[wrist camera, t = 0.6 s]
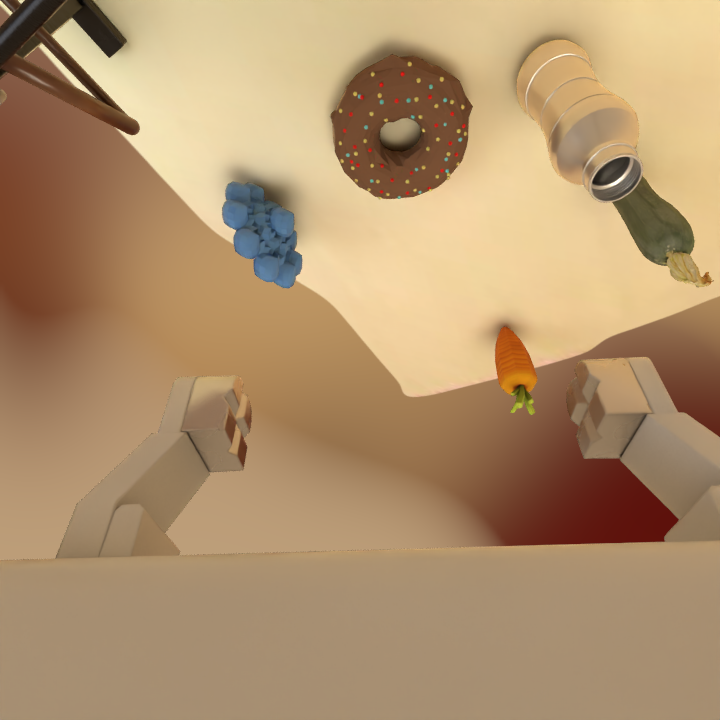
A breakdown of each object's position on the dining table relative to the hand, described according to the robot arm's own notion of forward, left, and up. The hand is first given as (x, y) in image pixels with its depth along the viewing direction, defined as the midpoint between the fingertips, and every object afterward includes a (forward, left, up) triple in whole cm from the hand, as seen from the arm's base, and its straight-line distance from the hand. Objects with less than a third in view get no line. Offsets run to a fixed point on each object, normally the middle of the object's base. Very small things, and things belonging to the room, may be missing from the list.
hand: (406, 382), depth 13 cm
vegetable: (+20, +27, -46) cm, 56 cm away
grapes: (+22, -12, -46) cm, 52 cm away
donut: (+14, +3, -46) cm, 48 cm away
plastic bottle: (+10, +17, -46) cm, 49 cm away
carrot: (+45, +19, -46) cm, 66 cm away
